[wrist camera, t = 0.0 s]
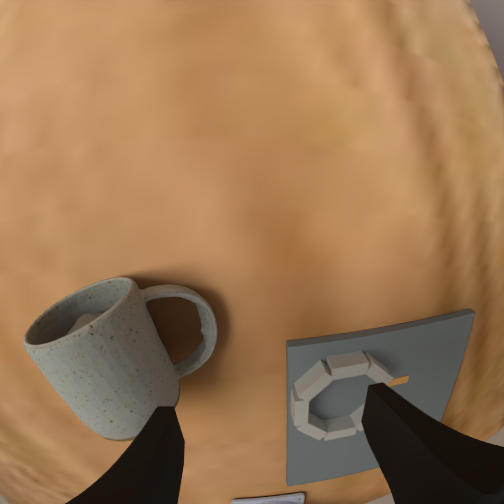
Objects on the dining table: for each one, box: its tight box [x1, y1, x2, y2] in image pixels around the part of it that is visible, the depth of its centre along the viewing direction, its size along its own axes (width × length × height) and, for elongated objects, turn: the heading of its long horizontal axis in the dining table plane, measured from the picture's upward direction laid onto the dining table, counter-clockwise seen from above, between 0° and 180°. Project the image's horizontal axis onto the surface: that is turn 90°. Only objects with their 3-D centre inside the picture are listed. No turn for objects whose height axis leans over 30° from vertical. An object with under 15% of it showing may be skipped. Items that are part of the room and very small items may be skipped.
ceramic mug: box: [24, 277, 218, 441], centre depth 17 cm, size 11×8×8 cm
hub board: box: [286, 309, 475, 486], centre depth 23 cm, size 18×16×2 cm
